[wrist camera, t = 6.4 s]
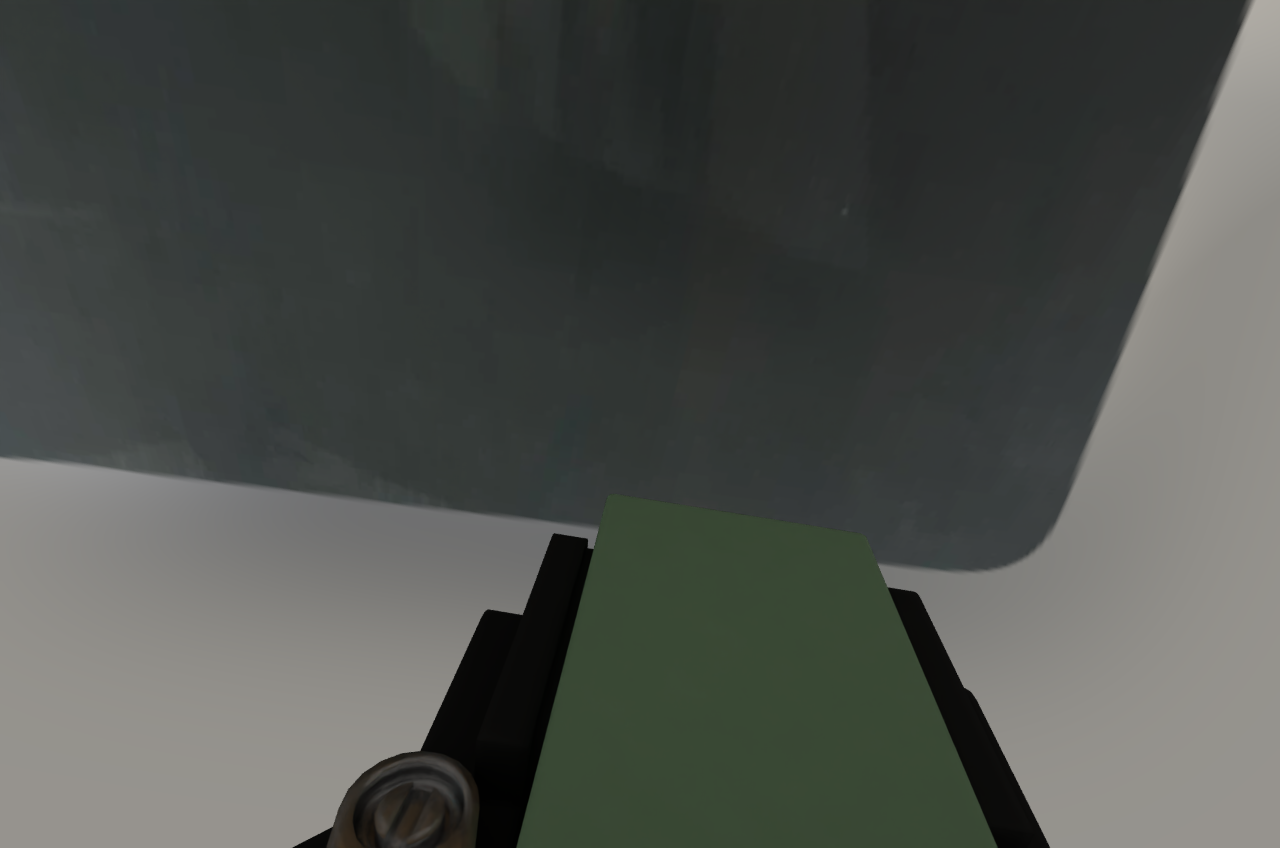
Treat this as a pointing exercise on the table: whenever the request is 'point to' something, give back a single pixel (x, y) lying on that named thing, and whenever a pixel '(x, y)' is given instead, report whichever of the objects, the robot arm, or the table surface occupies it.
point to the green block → (742, 697)
